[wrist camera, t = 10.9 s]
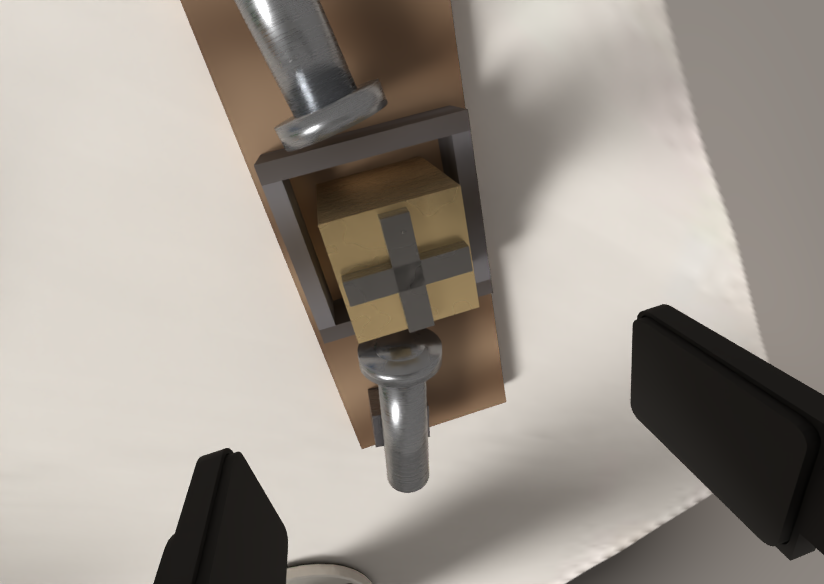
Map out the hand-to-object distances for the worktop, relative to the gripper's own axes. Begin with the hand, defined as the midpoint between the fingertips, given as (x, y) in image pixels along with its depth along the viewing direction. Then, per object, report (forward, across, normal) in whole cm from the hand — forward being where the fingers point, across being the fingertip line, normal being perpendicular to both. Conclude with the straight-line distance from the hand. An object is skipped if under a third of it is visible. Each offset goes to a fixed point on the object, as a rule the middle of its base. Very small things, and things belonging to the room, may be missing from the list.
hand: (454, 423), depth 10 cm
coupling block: (+13, -1, -1) cm, 13 cm away
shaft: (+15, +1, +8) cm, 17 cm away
